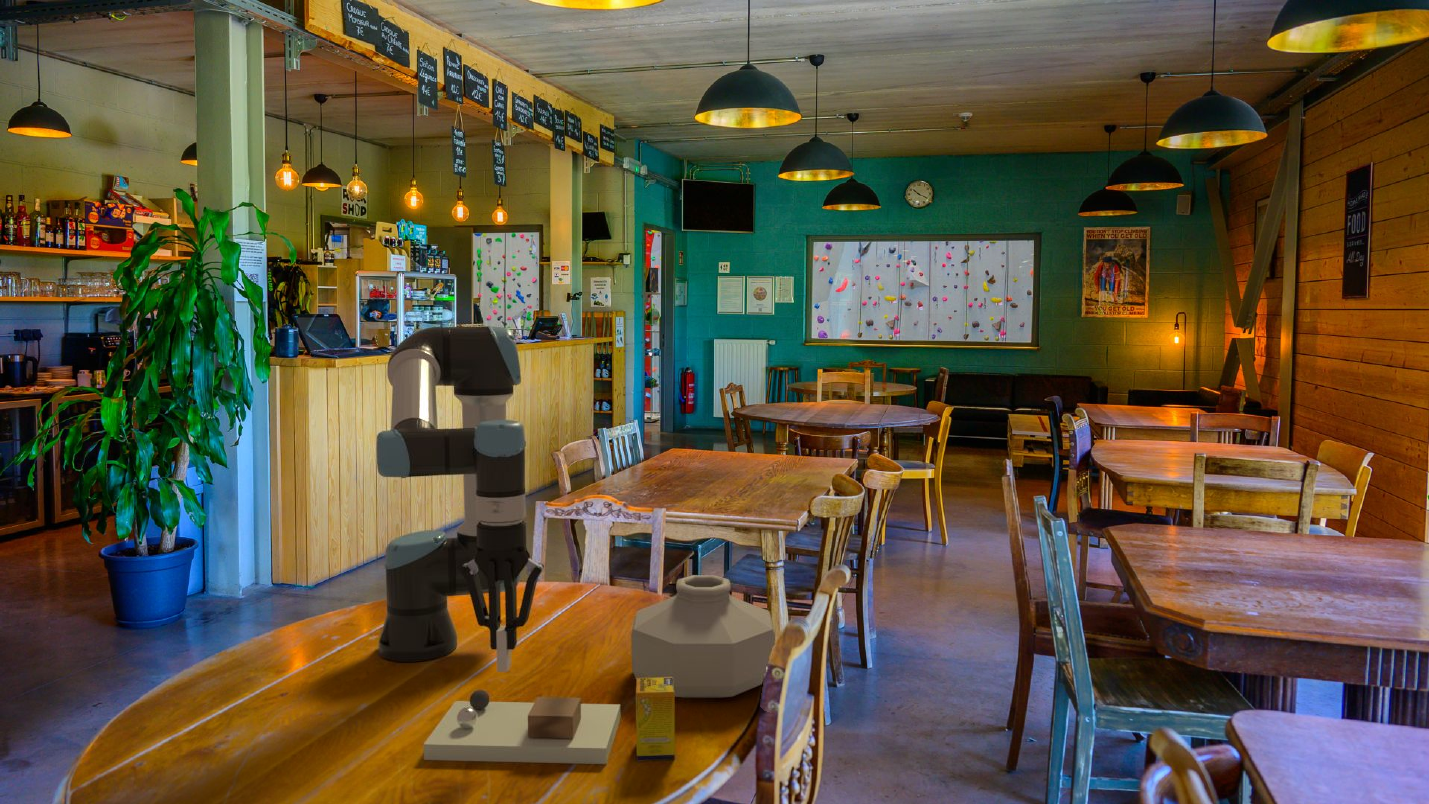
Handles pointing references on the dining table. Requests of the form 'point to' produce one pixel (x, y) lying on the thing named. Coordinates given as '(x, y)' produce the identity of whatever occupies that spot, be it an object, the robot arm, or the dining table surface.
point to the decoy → (479, 699)
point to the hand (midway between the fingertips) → (504, 668)
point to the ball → (467, 718)
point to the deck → (522, 736)
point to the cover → (554, 717)
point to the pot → (703, 640)
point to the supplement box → (655, 718)
